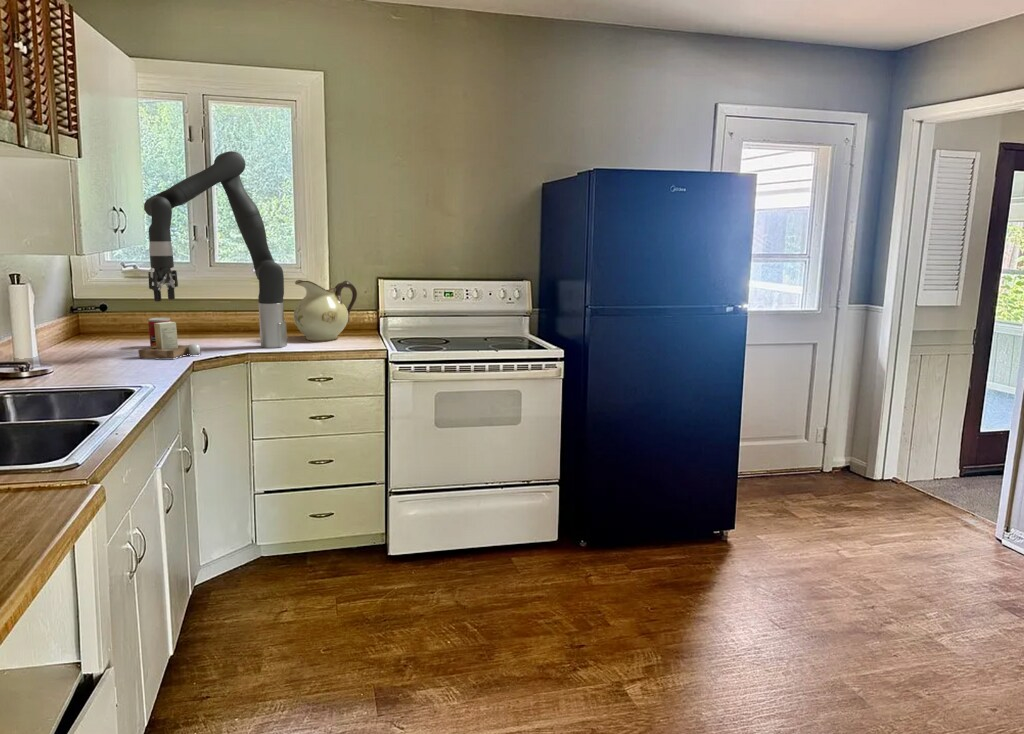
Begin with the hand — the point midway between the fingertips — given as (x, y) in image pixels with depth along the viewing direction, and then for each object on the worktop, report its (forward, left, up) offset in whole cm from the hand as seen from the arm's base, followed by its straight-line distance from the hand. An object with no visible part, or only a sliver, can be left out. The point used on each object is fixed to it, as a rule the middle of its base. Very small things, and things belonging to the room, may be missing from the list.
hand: (164, 300), depth 268 cm
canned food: (+15, -20, -20) cm, 32 cm away
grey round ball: (-9, -2, -20) cm, 22 cm away
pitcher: (-38, -53, -20) cm, 68 cm away
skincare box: (0, +1, -20) cm, 20 cm away
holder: (0, 0, -20) cm, 20 cm away
